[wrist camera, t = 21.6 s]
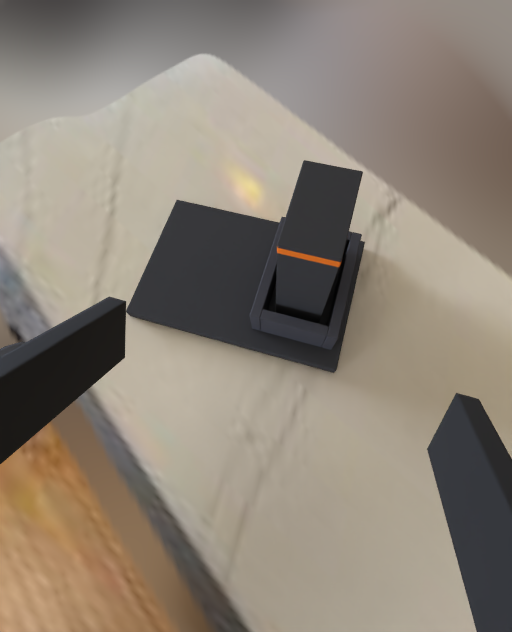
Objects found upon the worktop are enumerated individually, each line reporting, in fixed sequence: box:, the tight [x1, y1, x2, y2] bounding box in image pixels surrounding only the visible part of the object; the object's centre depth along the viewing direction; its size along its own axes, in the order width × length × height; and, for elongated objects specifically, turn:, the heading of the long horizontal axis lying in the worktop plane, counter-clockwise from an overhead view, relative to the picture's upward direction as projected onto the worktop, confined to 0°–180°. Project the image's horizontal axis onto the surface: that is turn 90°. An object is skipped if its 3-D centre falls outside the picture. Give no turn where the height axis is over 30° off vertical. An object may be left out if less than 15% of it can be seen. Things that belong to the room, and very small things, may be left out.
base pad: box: [126, 200, 365, 373], centre depth 30 cm, size 18×12×4 cm, turn 73°
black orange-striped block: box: [276, 160, 363, 324], centre depth 25 cm, size 4×6×11 cm, turn 163°
